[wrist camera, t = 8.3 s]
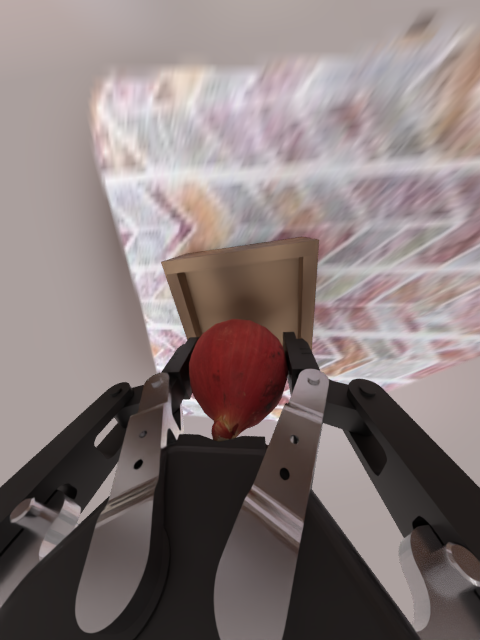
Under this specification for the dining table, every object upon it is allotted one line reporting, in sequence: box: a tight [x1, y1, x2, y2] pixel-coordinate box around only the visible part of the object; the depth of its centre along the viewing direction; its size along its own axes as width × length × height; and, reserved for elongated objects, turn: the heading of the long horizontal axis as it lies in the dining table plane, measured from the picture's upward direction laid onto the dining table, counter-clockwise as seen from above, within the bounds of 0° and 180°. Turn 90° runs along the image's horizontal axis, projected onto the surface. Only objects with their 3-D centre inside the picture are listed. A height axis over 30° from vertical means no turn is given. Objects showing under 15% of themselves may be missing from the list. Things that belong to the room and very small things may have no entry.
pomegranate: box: [189, 319, 289, 442], centre depth 10 cm, size 6×6×8 cm
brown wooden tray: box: [161, 237, 319, 351], centre depth 18 cm, size 12×12×6 cm
